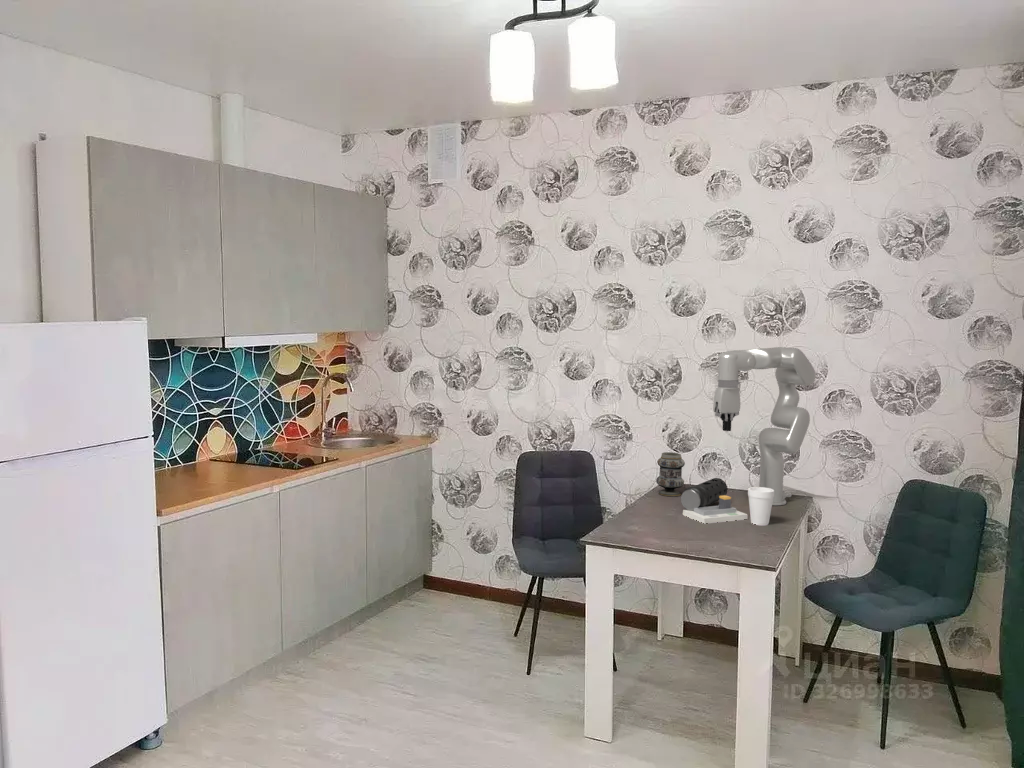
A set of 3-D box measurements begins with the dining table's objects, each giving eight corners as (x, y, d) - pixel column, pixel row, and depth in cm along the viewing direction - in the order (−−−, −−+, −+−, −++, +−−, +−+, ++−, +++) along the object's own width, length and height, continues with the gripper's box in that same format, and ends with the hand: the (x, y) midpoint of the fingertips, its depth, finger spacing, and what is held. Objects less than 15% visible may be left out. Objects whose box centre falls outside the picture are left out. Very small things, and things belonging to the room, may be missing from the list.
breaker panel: (724, 511, 322) (725, 502, 322) (747, 519, 309) (747, 510, 309) (682, 515, 314) (683, 506, 314) (704, 523, 301) (704, 514, 301)
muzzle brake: (727, 503, 333) (728, 478, 332) (701, 516, 311) (702, 489, 310) (706, 500, 339) (706, 475, 338) (678, 512, 316) (679, 486, 315)
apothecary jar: (686, 497, 346) (687, 456, 344) (658, 497, 345) (660, 455, 344) (680, 491, 358) (681, 451, 356) (653, 490, 357) (654, 451, 356)
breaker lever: (725, 509, 315) (725, 495, 315) (730, 511, 312) (731, 497, 312) (718, 510, 314) (719, 495, 314) (724, 512, 311) (724, 497, 311)
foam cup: (772, 521, 307) (773, 487, 306) (773, 527, 298) (774, 493, 297) (746, 519, 309) (747, 486, 308) (746, 525, 300) (748, 491, 299)
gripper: (737, 382, 321) (736, 428, 323) (706, 384, 315) (705, 430, 317) (749, 384, 314) (748, 430, 316) (718, 386, 308) (717, 433, 310)
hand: (726, 430), depth 316 cm, fingers closed
